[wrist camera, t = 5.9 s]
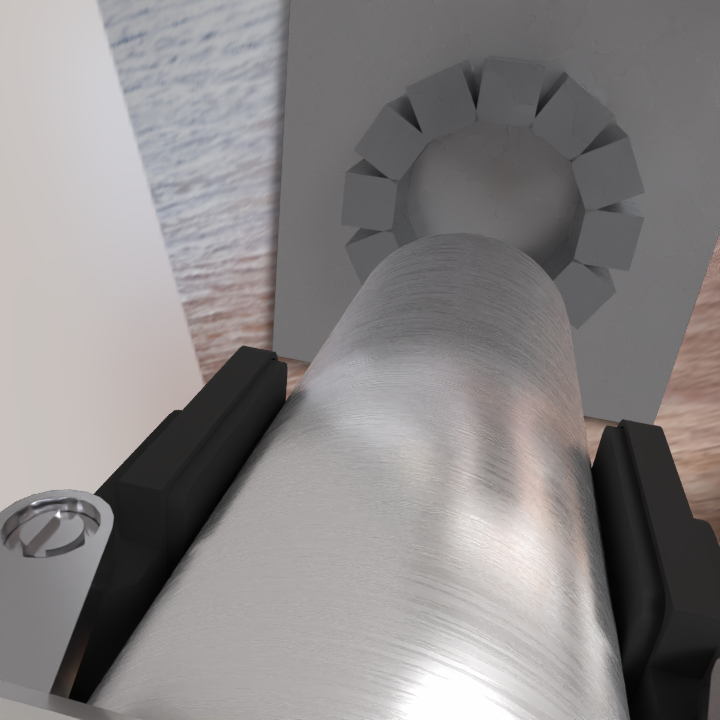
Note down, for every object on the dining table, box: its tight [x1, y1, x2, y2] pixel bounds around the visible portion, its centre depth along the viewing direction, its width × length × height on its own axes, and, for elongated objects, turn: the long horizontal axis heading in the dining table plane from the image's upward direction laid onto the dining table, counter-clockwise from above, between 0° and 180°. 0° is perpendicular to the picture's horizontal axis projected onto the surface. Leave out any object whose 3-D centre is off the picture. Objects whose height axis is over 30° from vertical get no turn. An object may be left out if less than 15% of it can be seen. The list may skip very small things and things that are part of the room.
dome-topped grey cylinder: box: [86, 233, 630, 720], centre depth 10 cm, size 7×5×14 cm
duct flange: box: [272, 0, 720, 425], centre depth 27 cm, size 18×18×4 cm
